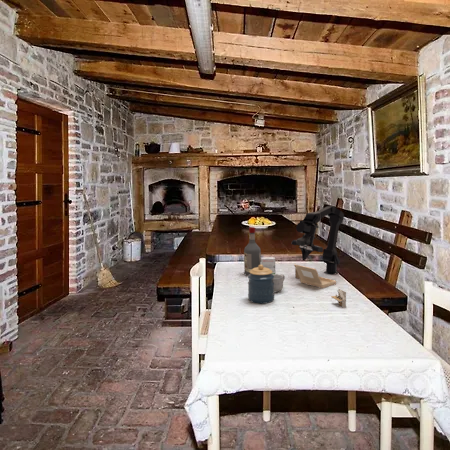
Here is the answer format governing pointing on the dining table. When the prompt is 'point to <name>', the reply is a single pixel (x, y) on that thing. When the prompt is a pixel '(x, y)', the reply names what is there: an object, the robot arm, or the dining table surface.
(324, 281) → the box
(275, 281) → the teacup
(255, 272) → the canister
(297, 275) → the walnut block
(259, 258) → the liquor
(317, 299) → the dining table surface
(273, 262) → the ink box
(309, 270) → the mailer lid
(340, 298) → the architectural model
